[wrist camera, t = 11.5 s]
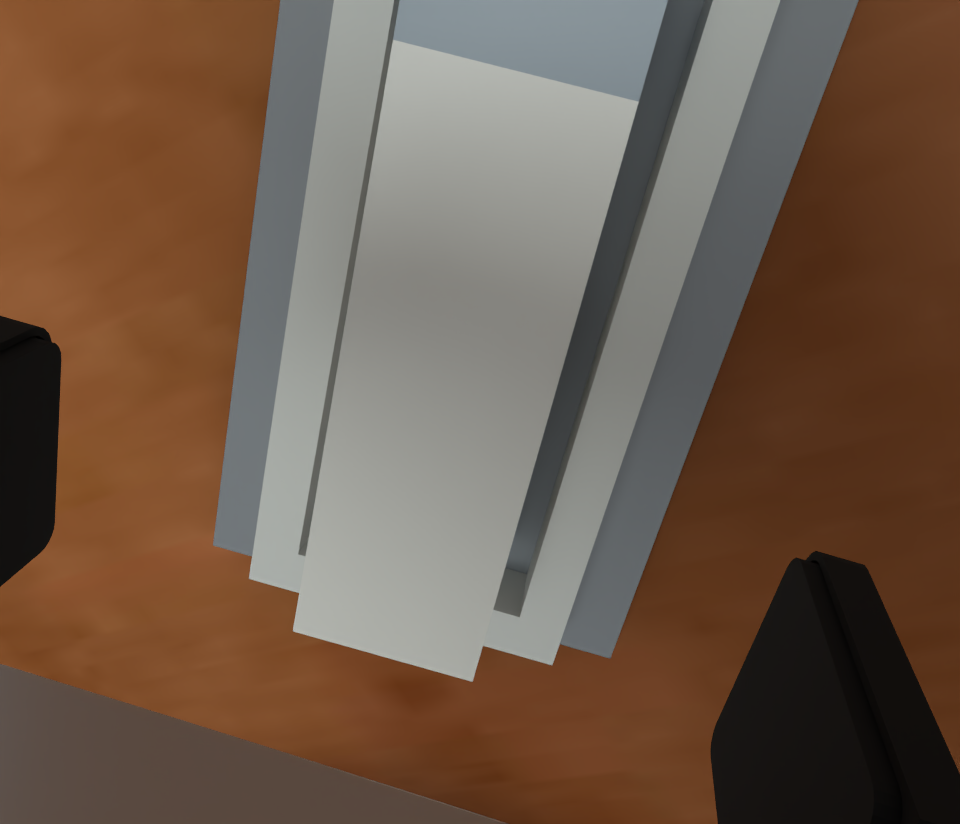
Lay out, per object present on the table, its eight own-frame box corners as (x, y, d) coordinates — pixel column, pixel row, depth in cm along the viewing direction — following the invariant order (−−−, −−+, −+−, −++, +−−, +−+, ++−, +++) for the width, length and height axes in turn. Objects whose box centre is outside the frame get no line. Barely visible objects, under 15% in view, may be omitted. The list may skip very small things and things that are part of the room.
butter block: (505, 535, 24) (472, 682, 19) (365, 497, 24) (292, 630, 19) (660, -17, 18) (678, -39, 13) (476, -63, 19) (417, -103, 13)
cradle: (610, 636, 26) (609, 706, 23) (226, 527, 27) (182, 583, 24) (893, -125, 18) (944, -153, 15) (330, -264, 18) (279, -317, 16)
